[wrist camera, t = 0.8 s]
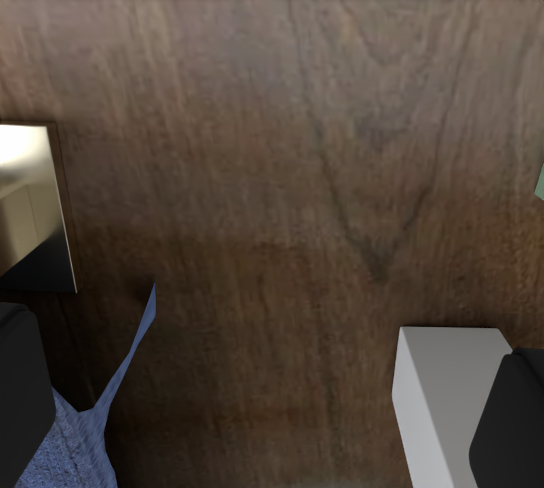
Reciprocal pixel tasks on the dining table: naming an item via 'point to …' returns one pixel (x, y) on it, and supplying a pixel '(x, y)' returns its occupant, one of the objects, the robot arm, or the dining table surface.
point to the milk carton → (443, 398)
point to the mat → (81, 436)
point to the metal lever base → (35, 211)
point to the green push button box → (540, 185)
